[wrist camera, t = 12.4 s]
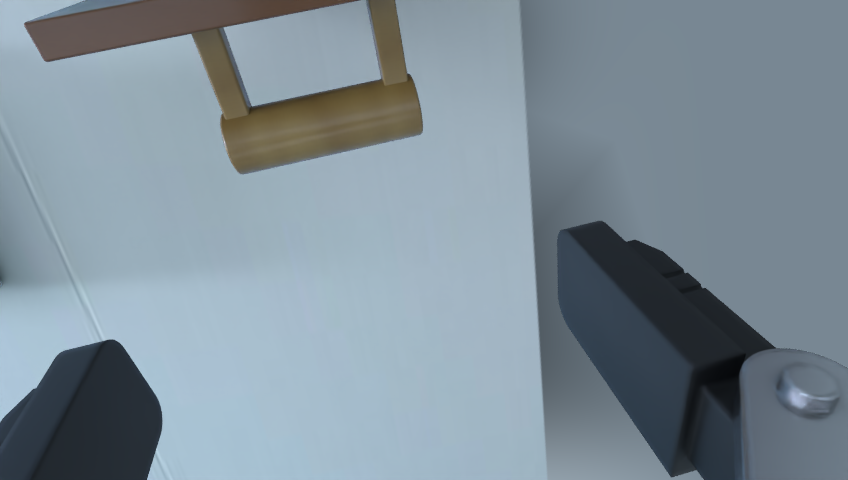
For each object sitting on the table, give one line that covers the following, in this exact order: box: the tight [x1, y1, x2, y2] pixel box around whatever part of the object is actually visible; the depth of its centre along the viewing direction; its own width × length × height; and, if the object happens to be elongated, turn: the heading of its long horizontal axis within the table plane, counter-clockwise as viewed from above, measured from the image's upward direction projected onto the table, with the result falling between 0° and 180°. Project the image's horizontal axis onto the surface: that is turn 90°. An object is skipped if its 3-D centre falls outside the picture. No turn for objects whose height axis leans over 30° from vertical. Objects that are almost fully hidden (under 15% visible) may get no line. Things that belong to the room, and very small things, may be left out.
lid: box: [24, 0, 423, 174], centre depth 19 cm, size 18×11×5 cm
